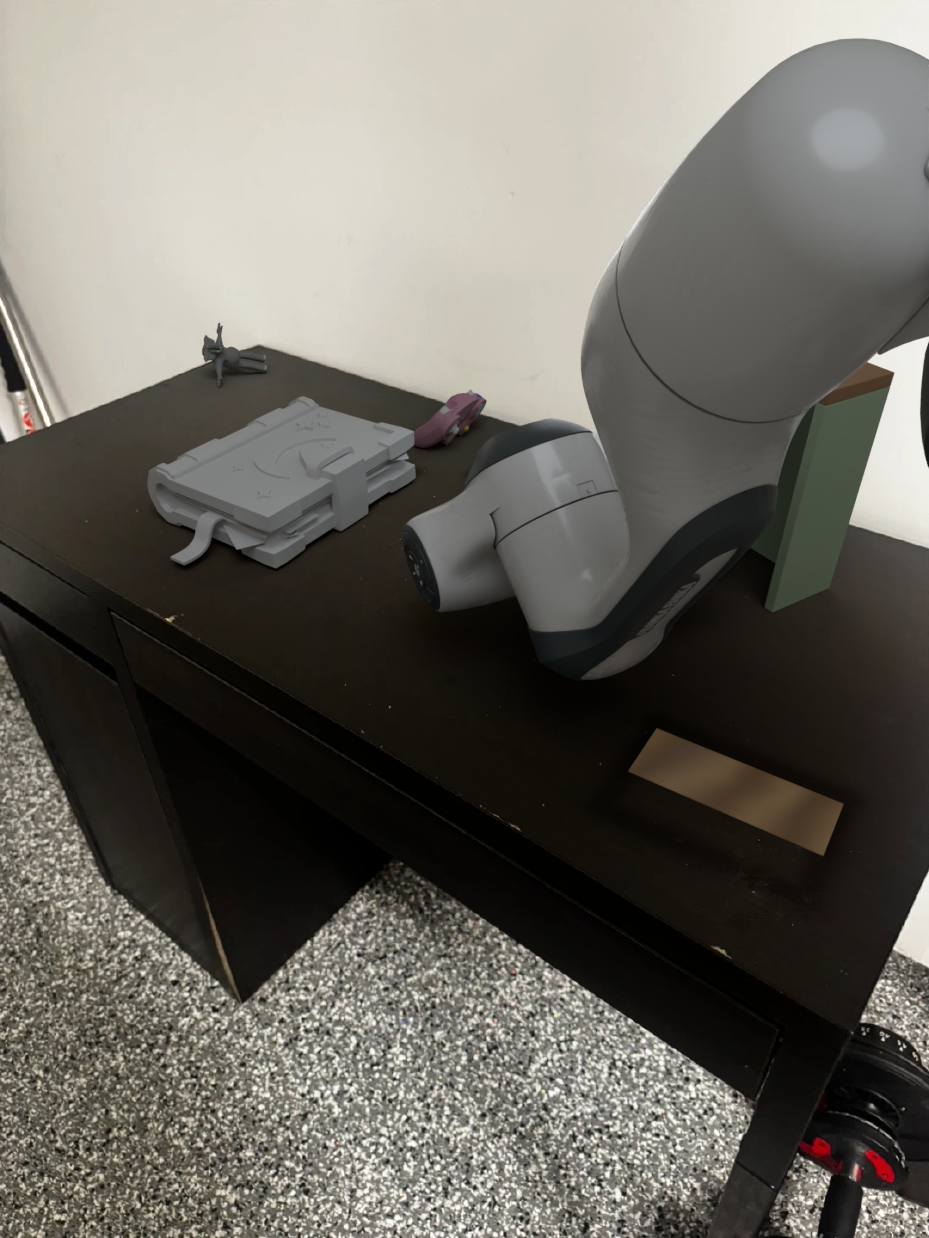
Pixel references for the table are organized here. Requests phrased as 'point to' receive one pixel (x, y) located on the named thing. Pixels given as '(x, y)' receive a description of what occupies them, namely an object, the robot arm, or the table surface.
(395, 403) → the table surface
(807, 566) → the cupboard
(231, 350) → the grey sculpted figure
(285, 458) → the book
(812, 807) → the cork mat
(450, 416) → the video game controller
